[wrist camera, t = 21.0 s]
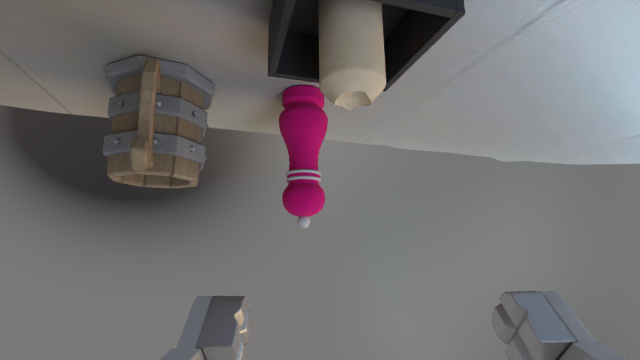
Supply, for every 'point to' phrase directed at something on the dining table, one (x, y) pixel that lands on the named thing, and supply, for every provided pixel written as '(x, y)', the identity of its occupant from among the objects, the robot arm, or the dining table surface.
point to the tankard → (156, 122)
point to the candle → (351, 52)
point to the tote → (398, 32)
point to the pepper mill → (303, 150)
